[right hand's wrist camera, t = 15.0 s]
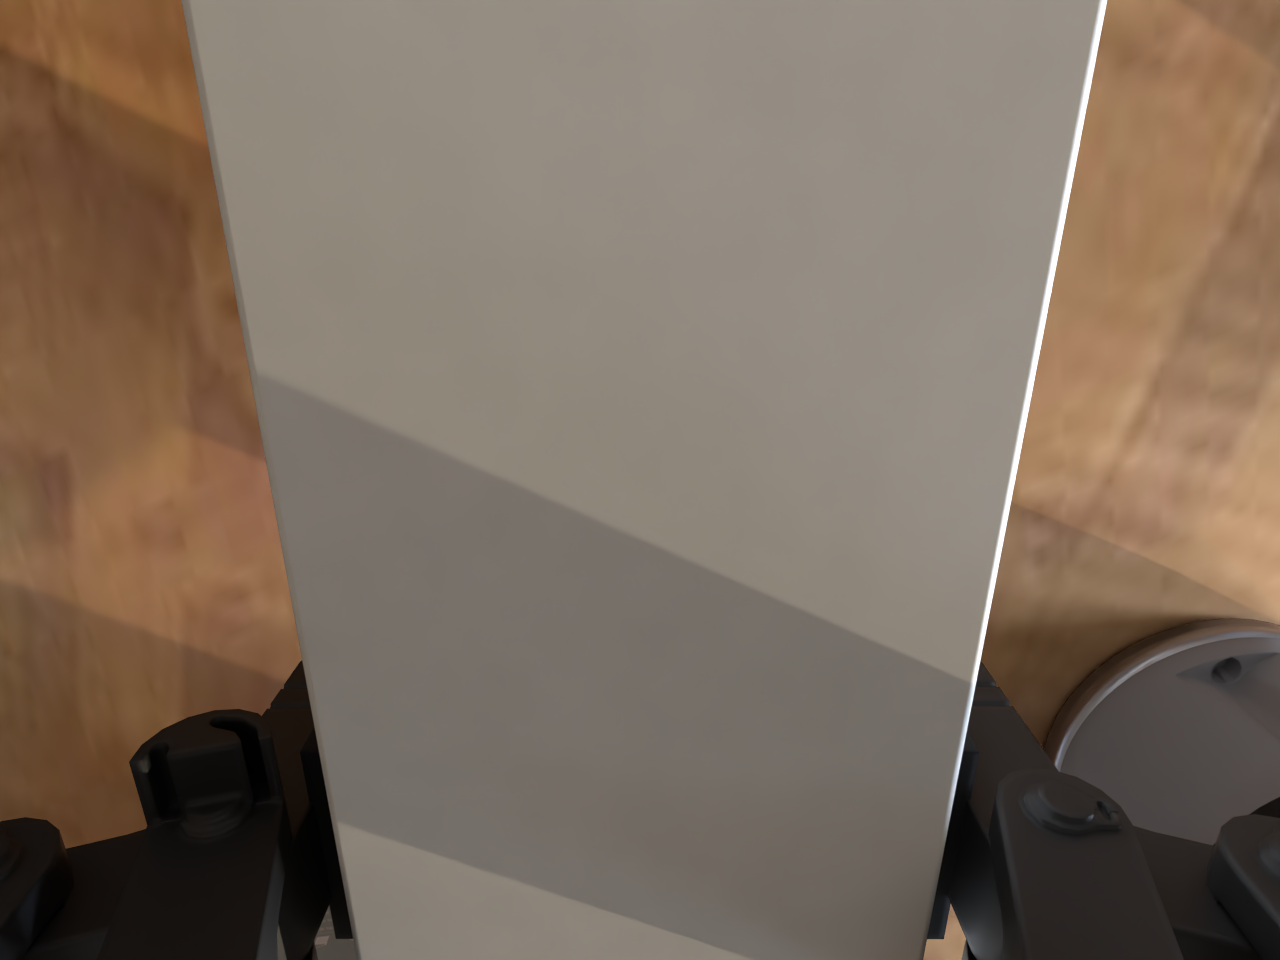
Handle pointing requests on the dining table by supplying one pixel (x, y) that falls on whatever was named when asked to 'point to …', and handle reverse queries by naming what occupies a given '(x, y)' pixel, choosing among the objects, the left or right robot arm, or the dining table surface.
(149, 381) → the dining table surface
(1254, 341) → the dining table surface
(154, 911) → the right robot arm
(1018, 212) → the bar
